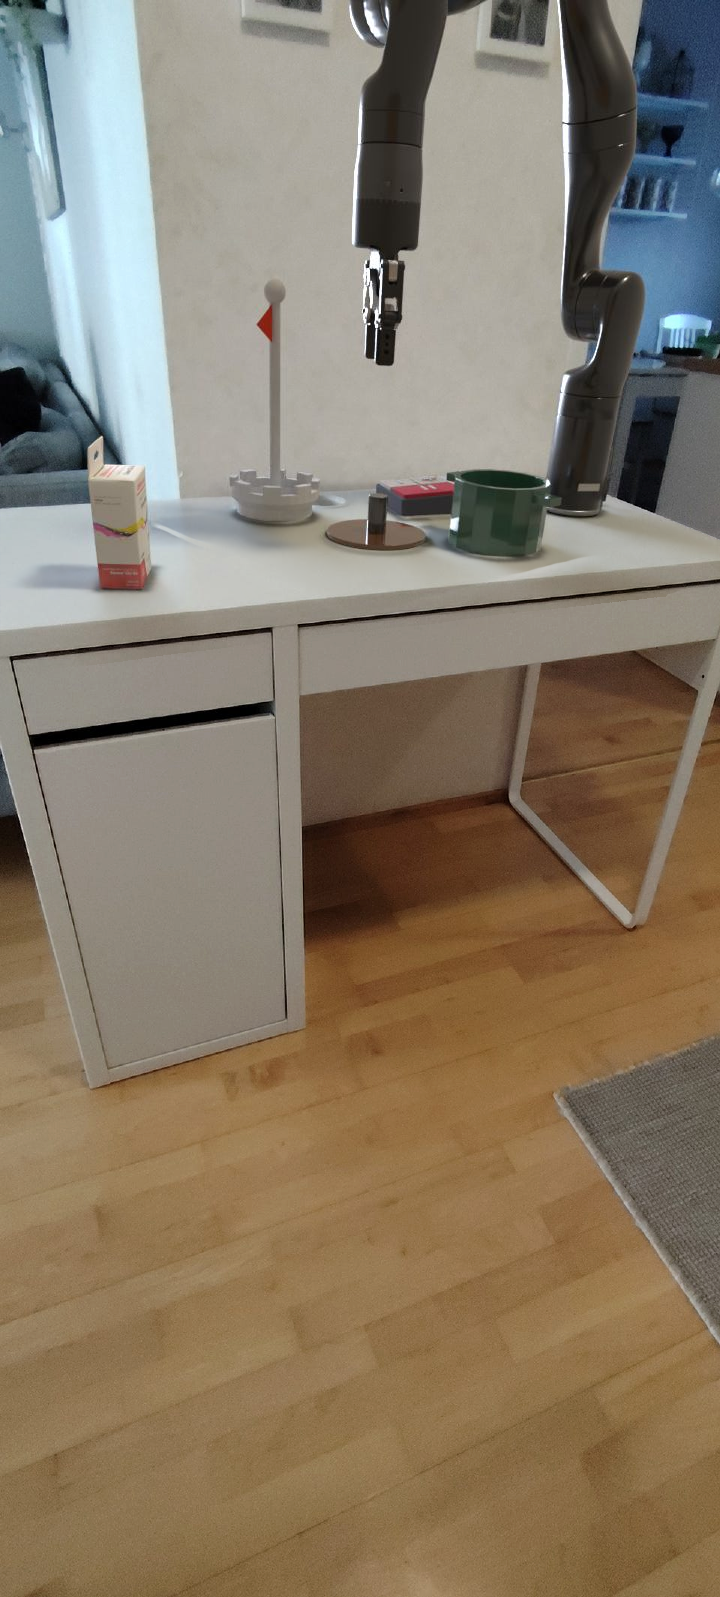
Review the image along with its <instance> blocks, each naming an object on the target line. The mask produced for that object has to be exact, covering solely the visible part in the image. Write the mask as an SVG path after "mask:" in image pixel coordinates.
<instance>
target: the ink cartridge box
mask: <svg viewBox="0 0 720 1597" xmlns="http://www.w3.org/2000/svg"><path fill="white" fill-rule="evenodd" d="M86 453H87V484H88V492H89V493H88V494H89V501H90V509H91V518H92V519H91V520H92V527H93V538H94V546H95V555H96V562H97V572H98V580H99V588H100V589H118V590H120V589H123V590H124V589H125V590H143V588H144V585H145V583H146V581H147V579H148V577H149V575H150V572H151V570H152V566H153V565H152V556H151V542H150V541H151V540H150V529H149V528H150V527H149V512H148V496H147V495H148V494H147V483H146V482H147V481H146V466H145V465H140V464H138V465H136V464H105V463H104V436H103V435H101V436H99V437H98V438H97V439H95V441H93V442H92V443H91V444H90V445H89V446H87V452H86ZM96 454H97V457H95V455H96Z"/></svg>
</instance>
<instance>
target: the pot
mask: <svg viewBox="0 0 720 1597" xmlns="http://www.w3.org/2000/svg"><path fill="white" fill-rule="evenodd" d="M446 476H447V477H446V480H448V481H451V482H454V485H453V495H452V505H451V514H449V523H448V524H449V525H448V533H447V534H448V535H447V540H448V544H450V545H451V546H453V547H454V548H455V549H456V548H457V549H458V550H461V551H465V552H468V553H472V554H478V555H482V556H490V557H505V558H509V557H510V558H511V557H525V556H530V555H533V554H537V553H538V552H539V551H541V549H542V544H543V537H544V531H545V525H546V519H547V514H548V511H547V507H554V506H559V505H560V504H561V497H558V496H554V495H550V489H551V483H550V482H549V480H547V479H546V477H545V478H544V477H542V476H540V475H536V474H532V473H528V472H523V471H515V470H509V469H508V470H507V469H495V468H494V469H493V468H484V469H483V468H481V469H480V468H479V469H477V468H475V469H468V470H467V469H465V470H461V471H459V470H456V471H450V472H446Z"/></svg>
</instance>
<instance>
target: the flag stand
mask: <svg viewBox="0 0 720 1597" xmlns="http://www.w3.org/2000/svg"><path fill="white" fill-rule="evenodd" d="M286 294H287V288H286V286H285V284H284V283H283V281H281V280H280V279H279V278H270V279H268V280H267V281H266V282H265V284H264V285H263V296H264V298H265V300H266V301H267V302H268V309H267V310H266V311H265V312H264V314H263V315H262V316H261V318H260V319H259V320H258V322H257V323H256V324H255V325H256V326H257V327H258V328H259V330H260V331H261V332H262V333H263V334H264V336H265V337H266V338H267V339H268V367H269V368H268V383H269V384H268V385H269V386H268V392H269V393H268V395H269V397H268V398H269V399H268V400H269V402H268V403H269V405H268V406H269V408H268V409H269V413H268V414H269V415H268V416H269V423H268V424H269V427H268V428H269V468H268V476H257V470H256V469H253V468H250V469H243V470H239V474H238V473H231V474H229V495H230V496H231V497H232V498H233V499H234V501H235V502H237V513H238V514H239V515H240V516H242V517H245V518H247V519H251V520H258V521H265V522H266V521H267V522H291V521H293V522H294V521H300V520H304V519H307V518H309V517H311V516H312V514H313V504H314V503H315V502H316V501H317V500H318V499H319V498H320V486H321V485H320V484H321V483H320V478H319V477H314V474H312V473H309V472H305V471H298V472H296V478H294V477H287V469H285V468H281V303H283V301H284V300H285V299H286Z"/></svg>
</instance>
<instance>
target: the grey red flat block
mask: <svg viewBox="0 0 720 1597" xmlns="http://www.w3.org/2000/svg"><path fill="white" fill-rule="evenodd" d="M446 477H447V475H441V476H438V475H427V476H425V475H424V476H415V477H414V476H413V477H410V478H394V479H393V478H391V479H382V480H380V481H379V483H376V485H375V493H380V494H385V495H388V506H387V509H389V510H391V511H393V512H395V513H396V514H398V515H400V516H401V517H419V516H440V515H450V514H451V505H452V495H453V485H454V482H451V481H448V480H446Z"/></svg>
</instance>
